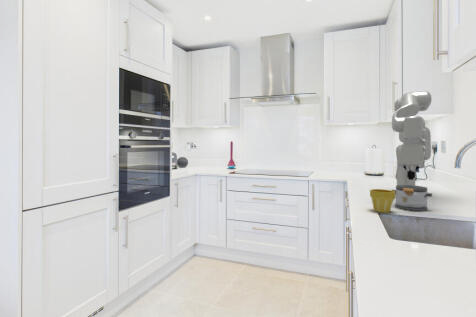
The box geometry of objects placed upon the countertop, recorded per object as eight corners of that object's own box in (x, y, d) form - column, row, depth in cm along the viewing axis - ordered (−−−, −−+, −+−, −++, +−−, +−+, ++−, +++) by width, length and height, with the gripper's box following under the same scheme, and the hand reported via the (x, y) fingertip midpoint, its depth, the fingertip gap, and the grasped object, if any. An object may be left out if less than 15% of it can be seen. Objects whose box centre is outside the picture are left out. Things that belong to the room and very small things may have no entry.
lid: (399, 186, 141) (399, 184, 141) (429, 189, 132) (429, 186, 132) (392, 189, 129) (392, 187, 129) (424, 193, 121) (424, 190, 121)
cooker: (394, 203, 143) (395, 186, 142) (433, 208, 132) (433, 189, 131) (388, 207, 132) (388, 189, 132) (429, 213, 121) (430, 193, 121)
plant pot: (388, 208, 130) (388, 188, 130) (399, 214, 120) (399, 192, 120) (366, 208, 131) (366, 188, 131) (374, 213, 121) (375, 192, 121)
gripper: (432, 141, 127) (430, 179, 129) (396, 141, 137) (395, 177, 139) (430, 142, 122) (428, 181, 123) (393, 142, 132) (392, 179, 133)
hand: (411, 179), depth 131 cm, fingers closed
